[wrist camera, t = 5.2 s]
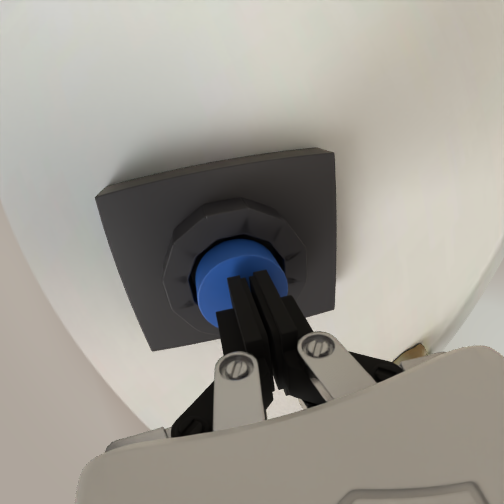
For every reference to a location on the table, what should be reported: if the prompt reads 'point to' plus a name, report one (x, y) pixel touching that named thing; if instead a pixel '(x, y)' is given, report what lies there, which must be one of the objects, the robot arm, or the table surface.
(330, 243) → the button block
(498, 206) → the table surface
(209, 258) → the blue button
